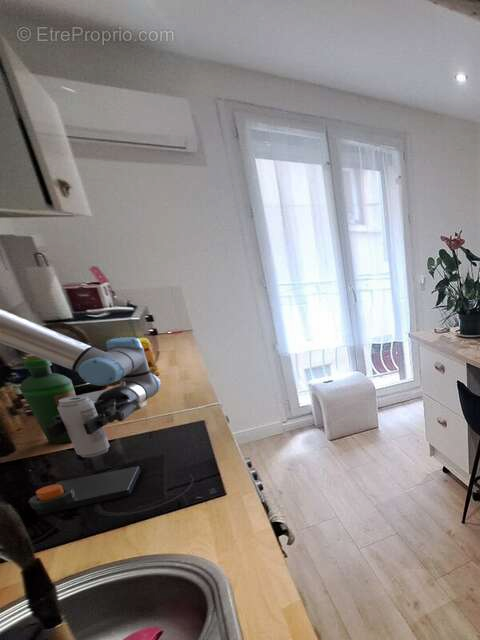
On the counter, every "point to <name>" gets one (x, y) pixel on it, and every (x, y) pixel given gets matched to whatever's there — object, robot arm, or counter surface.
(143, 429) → the counter surface
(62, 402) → the energy drink can
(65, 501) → the scale
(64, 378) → the bottle
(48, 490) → the tare button
